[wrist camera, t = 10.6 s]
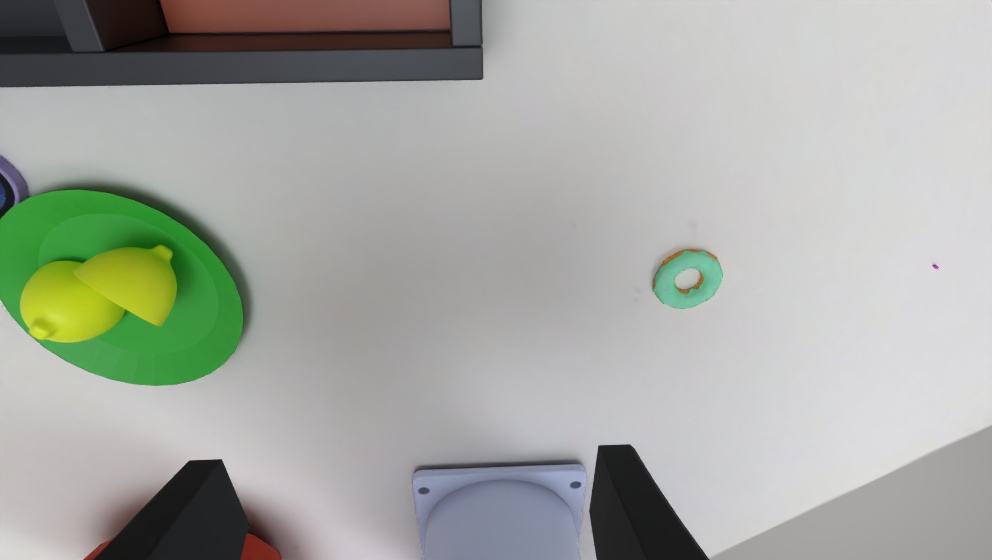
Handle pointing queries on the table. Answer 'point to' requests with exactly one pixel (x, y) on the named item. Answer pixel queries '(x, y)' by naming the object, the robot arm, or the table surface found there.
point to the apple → (255, 553)
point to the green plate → (117, 288)
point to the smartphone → (10, 187)
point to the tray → (237, 41)
